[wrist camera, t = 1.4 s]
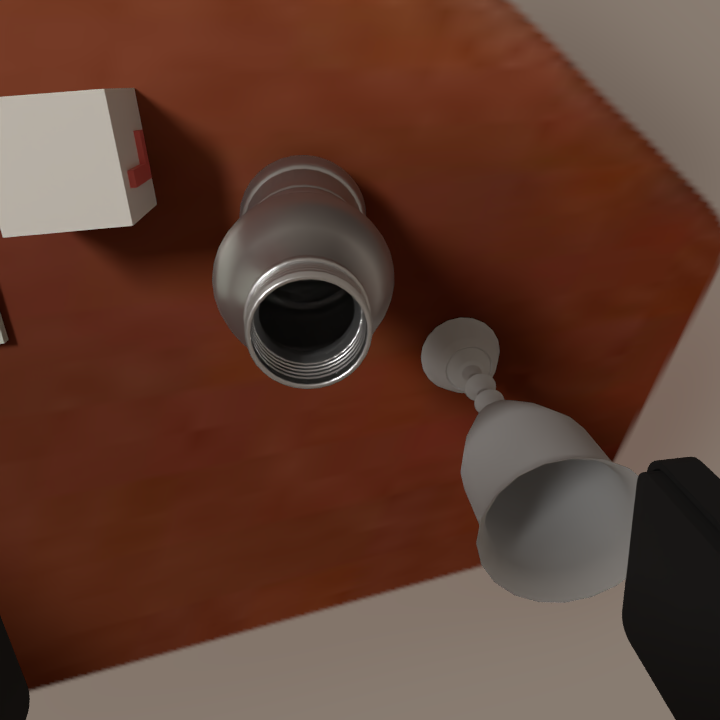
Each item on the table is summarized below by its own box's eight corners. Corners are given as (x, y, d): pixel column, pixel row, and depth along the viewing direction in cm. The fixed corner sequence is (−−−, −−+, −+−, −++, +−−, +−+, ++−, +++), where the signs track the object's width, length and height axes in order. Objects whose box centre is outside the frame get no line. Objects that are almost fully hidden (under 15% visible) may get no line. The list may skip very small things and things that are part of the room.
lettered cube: (162, 203, 36) (139, 225, 31) (47, 214, 36) (2, 237, 31) (140, 87, 34) (111, 88, 29) (16, 97, 34) (-38, 100, 28)
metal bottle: (368, 255, 39) (435, 412, 20) (254, 273, 38) (218, 448, 20) (353, 141, 36) (414, 203, 18) (231, 160, 36) (164, 242, 17)
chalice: (391, 391, 42) (453, 589, 26) (421, 292, 40) (511, 441, 23) (496, 412, 44) (619, 613, 27) (531, 317, 41) (690, 475, 25)
